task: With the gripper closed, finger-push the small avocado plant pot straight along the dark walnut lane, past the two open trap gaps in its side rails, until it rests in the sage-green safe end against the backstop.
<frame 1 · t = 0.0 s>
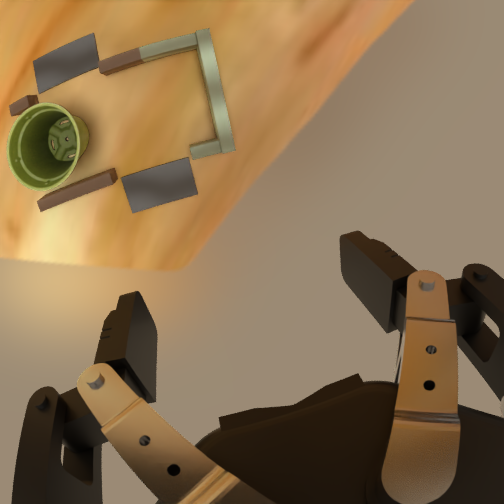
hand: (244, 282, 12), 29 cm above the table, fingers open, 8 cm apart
plant pot: (68, 137, 32), on the table
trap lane: (116, 118, 33), on the table
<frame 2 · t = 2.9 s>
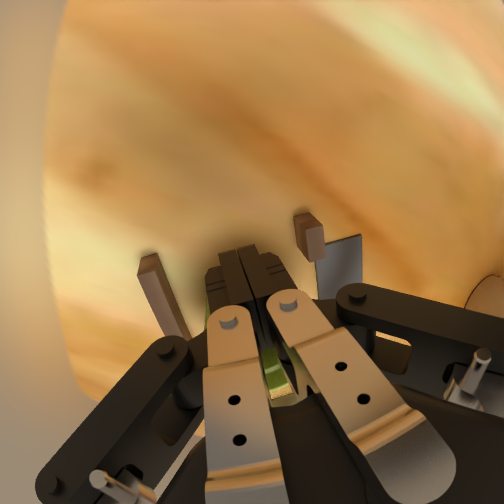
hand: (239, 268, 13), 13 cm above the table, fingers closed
plant pot: (240, 290, 29), on the table
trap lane: (254, 343, 32), on the table
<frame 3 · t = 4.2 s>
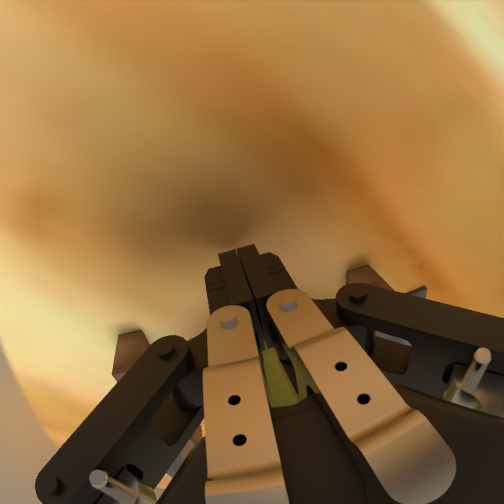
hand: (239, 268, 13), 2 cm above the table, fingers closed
plant pot: (262, 368, 20), on the table
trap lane: (277, 419, 23), on the table
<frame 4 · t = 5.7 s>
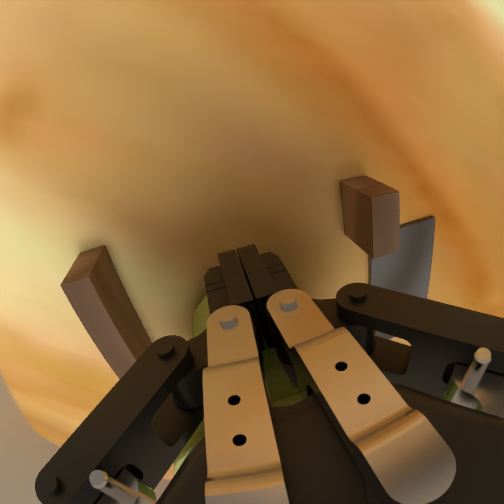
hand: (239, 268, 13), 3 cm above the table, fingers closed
plant pot: (248, 312, 17), on the table, touching gripper
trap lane: (269, 383, 20), on the table
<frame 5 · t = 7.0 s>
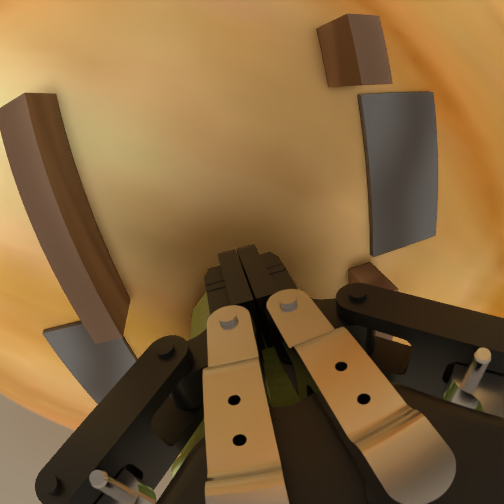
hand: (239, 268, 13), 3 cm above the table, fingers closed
plant pot: (248, 309, 17), on the table, touching gripper
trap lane: (247, 300, 17), on the table
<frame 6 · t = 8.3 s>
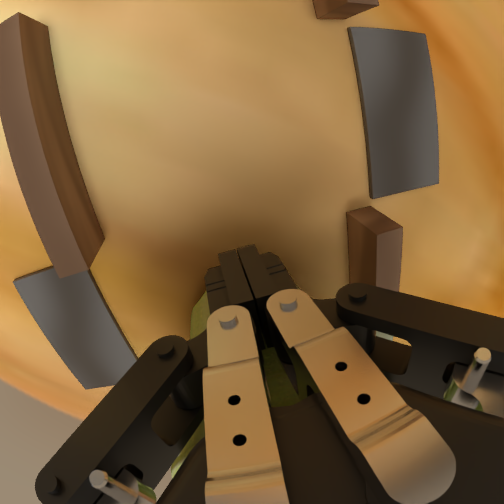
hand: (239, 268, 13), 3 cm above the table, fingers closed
plant pot: (247, 309, 17), on the table, touching gripper
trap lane: (234, 241, 15), on the table
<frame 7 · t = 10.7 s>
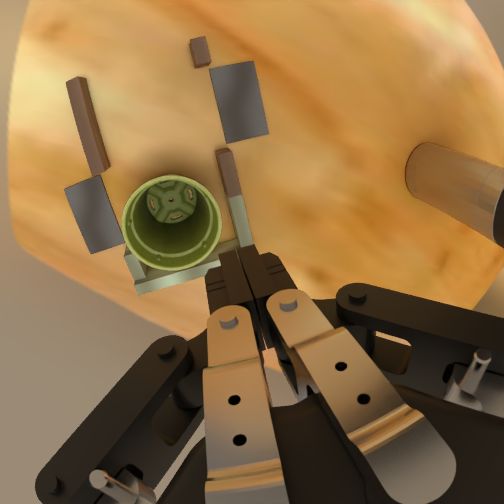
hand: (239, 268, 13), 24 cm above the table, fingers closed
plant pot: (172, 198, 35), on the table
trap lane: (164, 165, 33), on the table
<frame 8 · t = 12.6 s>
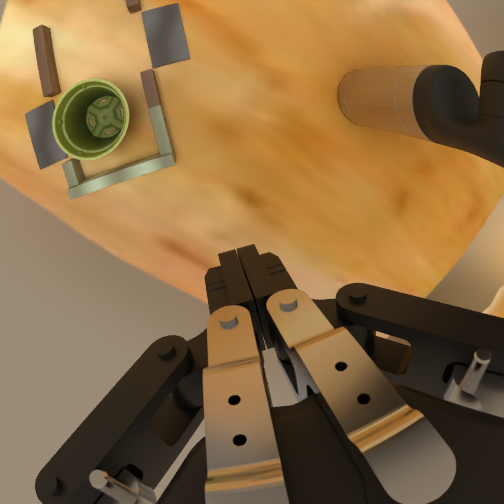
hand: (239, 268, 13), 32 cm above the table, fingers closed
plant pot: (107, 116, 35), on the table
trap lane: (101, 89, 33), on the table
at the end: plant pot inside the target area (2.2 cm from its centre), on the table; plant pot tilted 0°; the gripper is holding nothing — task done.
